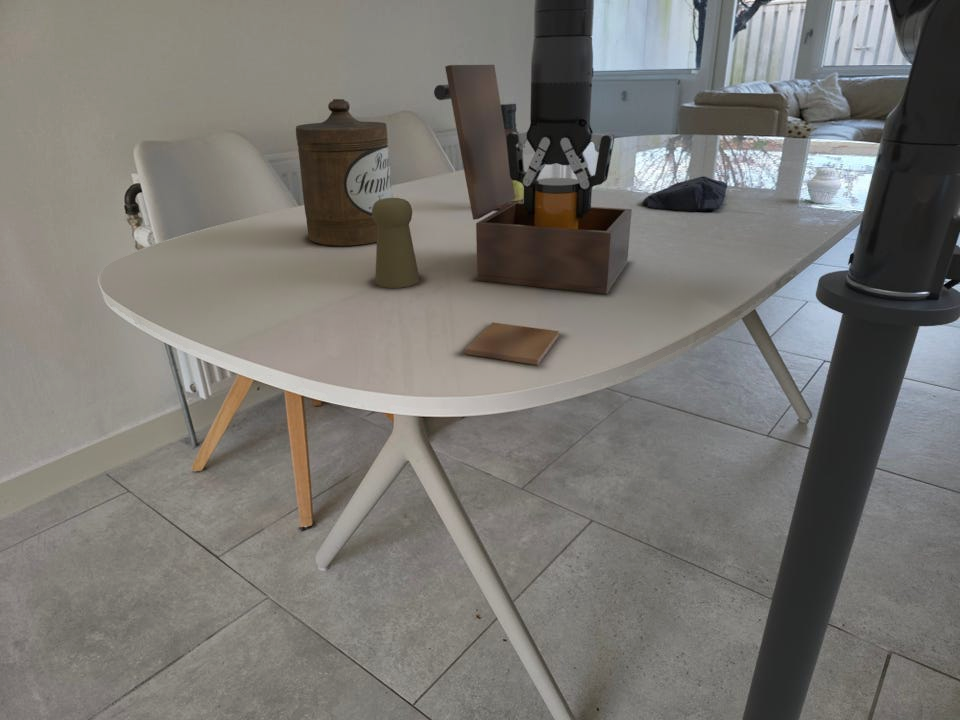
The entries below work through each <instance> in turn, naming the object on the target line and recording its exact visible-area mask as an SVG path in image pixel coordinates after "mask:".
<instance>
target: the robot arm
mask: <svg viewBox="0 0 960 720" xmlns="http://www.w3.org/2000/svg"><path fill="white" fill-rule="evenodd" d="M888 4H889V9H890V14H891V20H892V24H893V29H894V33H895V37H896V41H897V45H898V48H899V50H900V53H901V55H902V56H903V57H904V59H905V60H906V61H907V62H908V64H911V67H910V69H909V73H908V76H907V81H906V84H905V87H904V91H903V93H902V95H901V97H900V99H899V100H898V103H897V104H896V106H895V107H894V108H893V109H892V110H891V111H890V113H888V115H887V116H886V119H885V121H884V124H883V128H882V133H881V136H880V137H881V139H880V142H879V146H878V150H877V154H876V158H875V162H874V166H873V169H872V170H873V171H872V174H871V178H870V182H869V187H868V191H867V194H866V198H865V199H866V200H865V203H864V207H863V211H862V215H861V220H860V224H859V228H858V231H857V236H856V239H855V244H854V248H853V252H852V253H849V259H848V262H847V265H848V270H849V272H848V274H847V277H846V281H845V284H846V286H847V287H849V288H850V289H852V290H854V291H857V292H859V293H862V294H865V295H869V296H873V297H878V298H883V299H890V300H900V301H920V300H939V298H940V294H941V291H942V288H943V286H944V287H945V288H947V289H948V290H949V289H950V288H954V287H955V286H957V285H959V284H960V246H959V245H958V240H959V237H960V0H888ZM533 6H534V7H533V43H532V52H531V57H530V58H531V60H530V108H529V109H530V113H529V114H530V115H529V116H530V119H529V120H530V121H529V122H530V123H529V128H528V129H527V131H525V132H524V131H523V132H519V131H517V132H513V133H510V134H508V135H507V136H506V142H507V151H508V161H509V171H510V178H511V179H512V180H514V181H515V180H516V181H518V182H520V183H522V184H523V186H524V200H523V201H524V208H525V210H528V214H534V204H535V190H534V181H536V180H539V179H538V178H539V177H540V175H541V172H542V171H543V169H544V168H545V166H547V165H548V166H551V165H555V164H557V165H560V166H570V168H571V171H572V173H573V174H574V175H575V177H576V179H577V180H578V182H579V184H580V186H581V187H580V189H578V206H577V218H583V217H584V216H585V215H586V214H587V213H588V212H589V211H590V209H591V207H592V193H593V187H595V186H600V185H602V184H604V183H605V182H606V181H607V180H608V176H609V172H610V171H609V170H610V165H611V161H612V154H613V149H614V143H615V136H614V134H612V133H606V134H604V133H595V132H593V129H592V126H591V109H592V107H591V106H592V93H593V91H592V89H593V78H594V49H593V48H594V47H593V33H594V31H593V30H594V12H595V9H594V8H595V0H534V5H533ZM527 142H528V143H529V145H530V146H531V149H532V150H533V151H534V155H533V157H532V158H531V161H530V163H529V165H528V168H527V171H525V166H524V165H525V164H524V153H523V154H522V149H523V150H524V149H525V148H526V145H527V144H526V143H527ZM591 143H593V145H594V151H595V152H596V153H597V154H598V156H597V160H596V166H595V173H594V174H593V175H592V173H591V171H590V168H589V164H588V161H587V159H586V156H585V154H584V152H585V150H586V149H587V148H588V147H589V145H590V144H591ZM946 280H949V281H947V282H945V281H946Z"/></svg>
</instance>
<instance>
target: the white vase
mask: <svg viewBox="0 0 960 720" xmlns="http://www.w3.org/2000/svg"><path fill="white" fill-rule="evenodd" d="M806 187H807V193H808V196H809V198H810V199H809V200H810V202H811V203H815V204H822V205H823V204H829V203H831V201H832V200H833V199H834V198H835V197H836V195H837V194H838V193H839V190H840V189H841V188H842V182H841V180H840V179H839V177H838V176H837V171H836V169H835V168H832V167H829V166H827V167H822V168H819V169H818V170H817V171H816V174H814V175H813V177H812V178H811V179H809V180H808V181H807V183H806Z"/></svg>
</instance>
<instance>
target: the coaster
mask: <svg viewBox="0 0 960 720" xmlns="http://www.w3.org/2000/svg"><path fill="white" fill-rule="evenodd" d="M559 337H560V331H559V330H552V329H546V328H537V327H530V326H523V325H516V324H515V325H514V324H507V323H500V322H493V321H492V322H491V323H490V324H489V325H488V326H487V327H486V328H485V329H484V330H483V331H482V332H481V333H480V334H479V335H478V336H477V337H476V338H475V339H474V340H472V342H471V343H470V344H469V345H468V346H467V347H466V348H465V355H469V356H476V357H482V358H490V359H496V360H502V361H509V362H515V363H521V364H522V363H523V364H527V365H534V366H539V364H540V363H541V361H542V360H543V358H544V357H545V356H546V355H547V353H548V352H549V351H550V349H551V348H552V346H553V345H554V344H555V342H556V341H557V340H558V338H559Z"/></svg>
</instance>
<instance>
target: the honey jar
mask: <svg viewBox="0 0 960 720" xmlns="http://www.w3.org/2000/svg"><path fill="white" fill-rule="evenodd" d="M580 187H581V186H580V184H579V182H578V179H577V178H569V177H545V178H539V179H537V180H536V181H534V190H535V204H534V226H542V227H556V228H569V229H578V227H579V218H577V206H578V189H580Z"/></svg>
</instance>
